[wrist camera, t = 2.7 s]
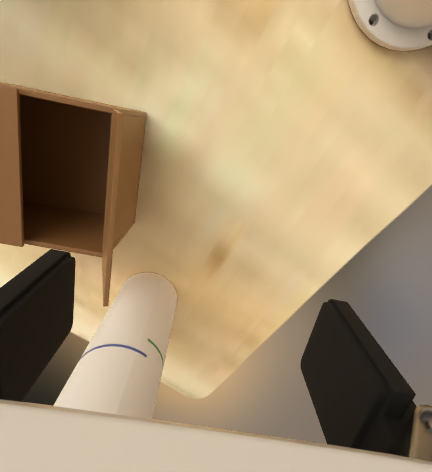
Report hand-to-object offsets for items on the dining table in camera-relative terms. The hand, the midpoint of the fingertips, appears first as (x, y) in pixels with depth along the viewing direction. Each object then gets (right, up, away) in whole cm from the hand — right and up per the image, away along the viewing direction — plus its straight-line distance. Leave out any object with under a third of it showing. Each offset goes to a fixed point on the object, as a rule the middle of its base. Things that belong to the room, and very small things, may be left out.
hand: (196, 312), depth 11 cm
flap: (-6, +5, +9) cm, 12 cm away
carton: (-14, +11, +21) cm, 27 cm away
